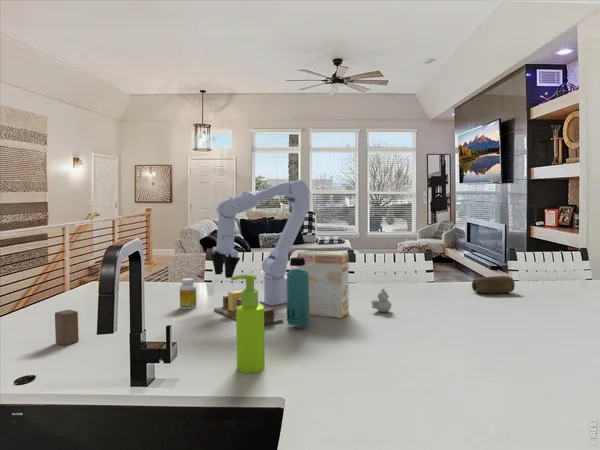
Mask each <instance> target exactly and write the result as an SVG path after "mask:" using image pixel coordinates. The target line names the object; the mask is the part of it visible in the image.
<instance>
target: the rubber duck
mask: <svg viewBox="0 0 600 450" xmlns="http://www.w3.org/2000/svg"><path fill="white" fill-rule="evenodd" d="M389 297H390V296H389V294H388V293H387V291H386V290H385V287H383V289H380V291H379V292H378V293H377V299H372V300H371V305H372V306H371V308H372V309H376V310H377V311H378V312H381V313H386V312H389V311H390V310H391V308H392V303H391V301H389Z"/></svg>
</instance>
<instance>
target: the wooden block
mask: <svg viewBox="0 0 600 450" xmlns="http://www.w3.org/2000/svg"><path fill="white" fill-rule="evenodd" d="M78 315H79V313H78V311H77V310H73V309H65V310H60V311H56V312H54V328H55V329H54V330H55V331H54V332H55V333H54V334H55V344H58V345H61V346H68V345H72V344H74V343H78V342H79V340H80V339H79V338H80V337H79V316H78Z"/></svg>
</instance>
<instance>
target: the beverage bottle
mask: <svg viewBox="0 0 600 450" xmlns="http://www.w3.org/2000/svg"><path fill="white" fill-rule="evenodd" d="M289 265H290V266H293V267H298V266H304V265H305V260H304V258H301V257H298V256H296V257H291V258H290V263H289ZM286 276H287V287H286V288H287V293H286V294H287V303H286V321H287V324H288V325H290V326H297V327H298V326H302V327H303V326H306V325H308V324H309V323H310V314H309V313H310V312H309V311H310V310H309V273H308V272H307V271H306V270H305V269H298V268H292V269H289V270H288V272H286Z"/></svg>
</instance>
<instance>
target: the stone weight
mask: <svg viewBox="0 0 600 450" xmlns="http://www.w3.org/2000/svg"><path fill="white" fill-rule="evenodd" d="M471 289H472V291H473V292H474V293H477V294H486V293H497V294H506V293H512V292H513V291H514V290H515V281H514V279H513V277H511V276H507V275H497V276H495V275H494V276H484V277H483V276H482V277H477V278H474V279H473V280H472V282H471Z"/></svg>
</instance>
